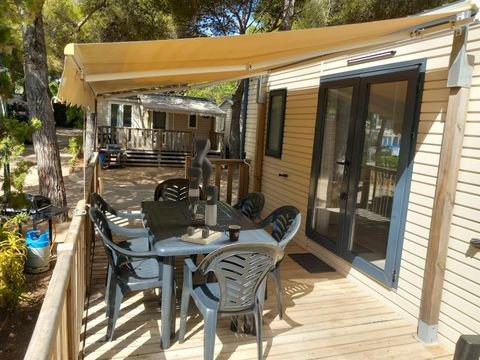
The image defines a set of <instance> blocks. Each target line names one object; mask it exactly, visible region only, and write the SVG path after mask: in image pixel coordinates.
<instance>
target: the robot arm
mask: <svg viewBox="0 0 480 360" xmlns="http://www.w3.org/2000/svg"><path fill="white" fill-rule="evenodd" d="M194 142H195V151H196V155H195V156H194V157H193V159H192V163H191V164H190V165H189V167H188V168H187V170H186V174H187V176H188V177H190V178H196V179H192V180H191V179H190V180H189V187H188V189H189V190H188V202H189V206H187V209H188V211H189V213H190V214H191V219H196V213H197V212H198V210H199V207H200V204H198V202H200V181H201V177H202V184H203V192H204V195H205V196H207V197H211V198H210V199H207V200H206V201H205V212H204V214H205V215H204V216H205V217H204V225H205V226H211V227H212V226H216V225H217V215H218V214H217V213H218V212H217V211H218V210H217V207H218V206H217V205H218V199H219V197H218V194H219V188H218V187H219V186H217V185H214V184H213V185H212V184H210V182H209V181H210V178H211V177H212V175H213V171H214V170H213V166H212V162H211V161H210V160H209V159H208V157H206V156H207V155H208V152H209V151H210V149H211V141H210V139H209V138H197V139H196V140H195V141H194Z"/></svg>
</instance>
